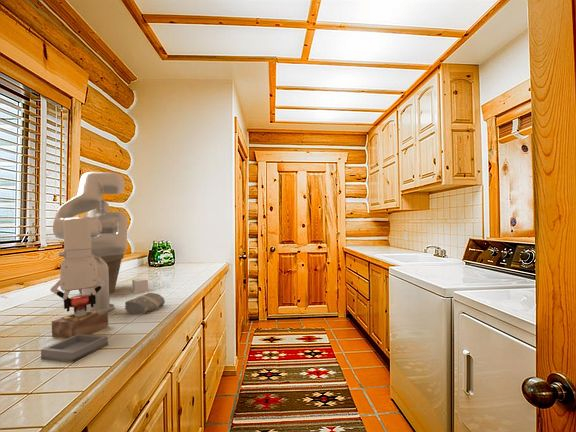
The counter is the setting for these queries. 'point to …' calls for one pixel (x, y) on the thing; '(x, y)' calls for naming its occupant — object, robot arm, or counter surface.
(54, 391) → the counter surface
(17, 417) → the counter surface
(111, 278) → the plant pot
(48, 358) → the tray
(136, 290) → the pale pink cube
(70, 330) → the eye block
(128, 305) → the decorative stone
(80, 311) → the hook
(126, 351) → the counter surface
